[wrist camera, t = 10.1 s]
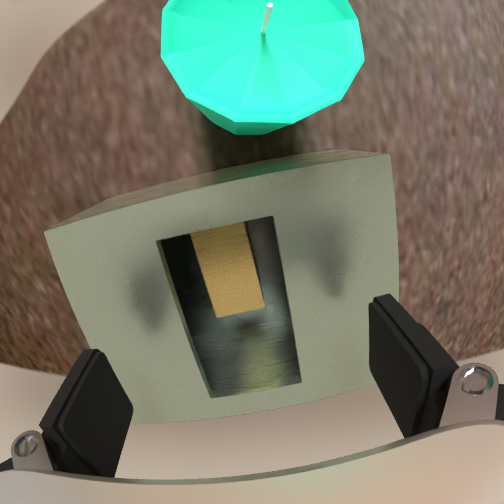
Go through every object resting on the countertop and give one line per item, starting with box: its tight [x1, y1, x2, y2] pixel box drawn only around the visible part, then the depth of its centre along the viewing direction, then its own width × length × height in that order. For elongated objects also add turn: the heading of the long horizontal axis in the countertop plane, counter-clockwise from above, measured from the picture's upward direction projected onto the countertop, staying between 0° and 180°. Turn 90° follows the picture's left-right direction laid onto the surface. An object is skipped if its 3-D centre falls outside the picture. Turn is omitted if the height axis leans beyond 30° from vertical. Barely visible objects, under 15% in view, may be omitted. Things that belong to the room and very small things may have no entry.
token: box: [190, 221, 265, 318], centre depth 17 cm, size 2×5×5 cm
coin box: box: [44, 149, 399, 424], centre depth 17 cm, size 14×11×8 cm
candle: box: [161, 0, 364, 135], centre depth 11 cm, size 6×6×12 cm
